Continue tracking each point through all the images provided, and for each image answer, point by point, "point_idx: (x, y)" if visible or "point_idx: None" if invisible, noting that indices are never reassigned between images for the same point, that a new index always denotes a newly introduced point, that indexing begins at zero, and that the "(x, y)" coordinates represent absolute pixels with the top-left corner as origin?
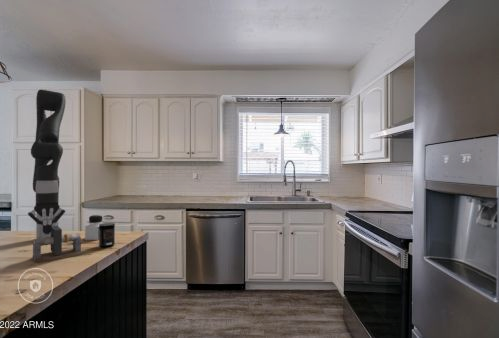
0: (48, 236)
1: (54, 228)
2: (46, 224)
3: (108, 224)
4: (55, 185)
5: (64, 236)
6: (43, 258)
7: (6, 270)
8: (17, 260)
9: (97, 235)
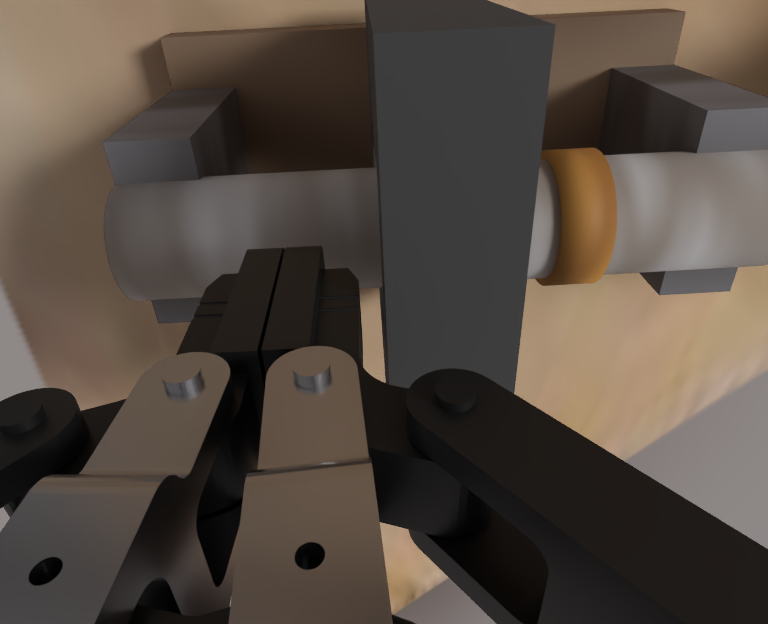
0: None
1: (416, 379)
2: (255, 454)
3: None
4: None
5: (544, 271)
6: None
7: (32, 326)
8: (17, 27)
9: None
